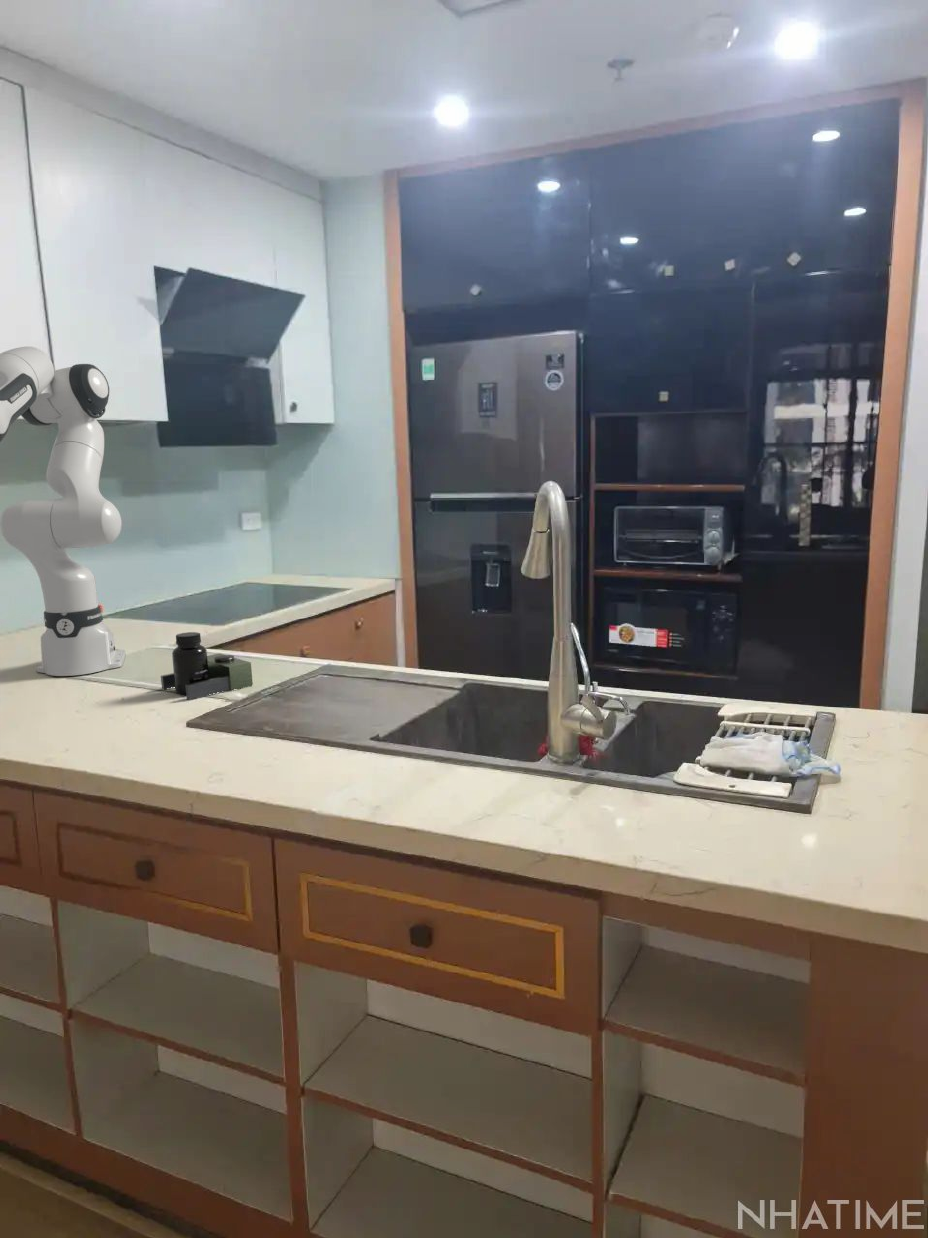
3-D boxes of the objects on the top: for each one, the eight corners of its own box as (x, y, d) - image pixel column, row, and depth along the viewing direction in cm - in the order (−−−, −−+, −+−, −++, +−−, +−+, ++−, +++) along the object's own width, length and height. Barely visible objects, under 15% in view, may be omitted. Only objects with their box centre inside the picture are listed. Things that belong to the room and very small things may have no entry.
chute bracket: (190, 700, 174) (187, 673, 173) (160, 689, 183) (158, 663, 182) (252, 685, 183) (250, 659, 182) (221, 675, 193) (219, 650, 191)
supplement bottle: (205, 695, 178) (200, 637, 175) (171, 696, 177) (165, 638, 175) (213, 686, 184) (208, 630, 182) (180, 687, 184) (175, 631, 182)
